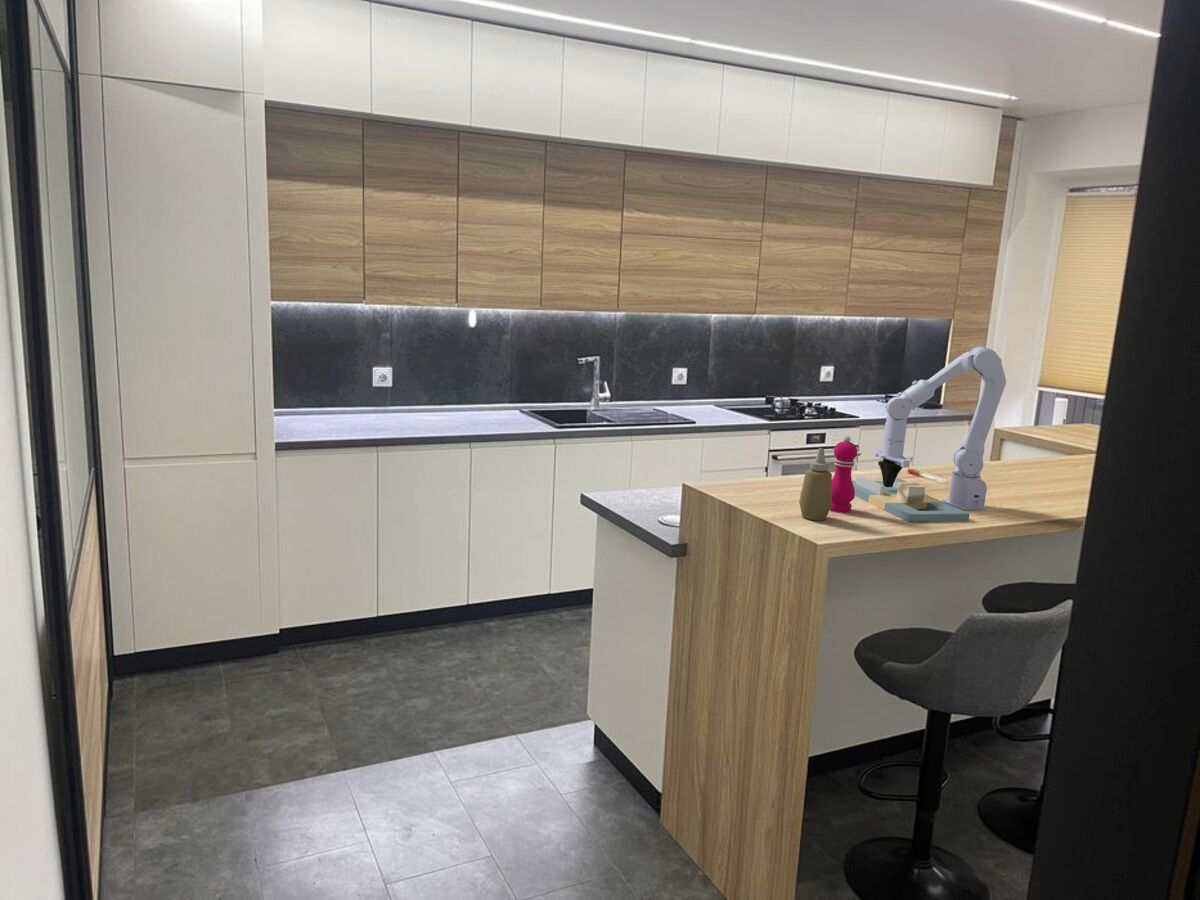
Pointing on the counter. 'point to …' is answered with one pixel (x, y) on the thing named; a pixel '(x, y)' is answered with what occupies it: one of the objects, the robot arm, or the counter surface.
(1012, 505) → the counter surface
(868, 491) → the board
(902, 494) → the block
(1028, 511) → the counter surface
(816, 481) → the squeeze bottle
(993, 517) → the counter surface
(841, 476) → the pepper mill
